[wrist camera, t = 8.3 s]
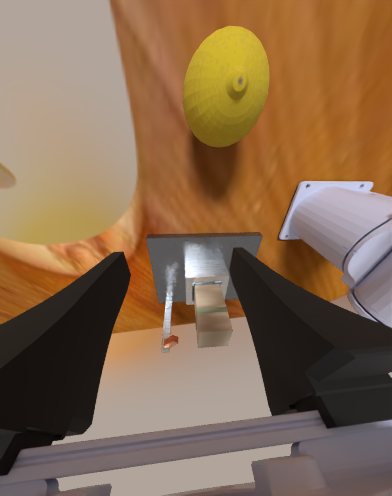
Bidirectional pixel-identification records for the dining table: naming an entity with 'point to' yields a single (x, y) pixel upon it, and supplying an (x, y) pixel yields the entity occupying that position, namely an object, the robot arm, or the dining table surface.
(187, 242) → the stand
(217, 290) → the block
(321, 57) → the dining table surface
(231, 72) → the lemon
